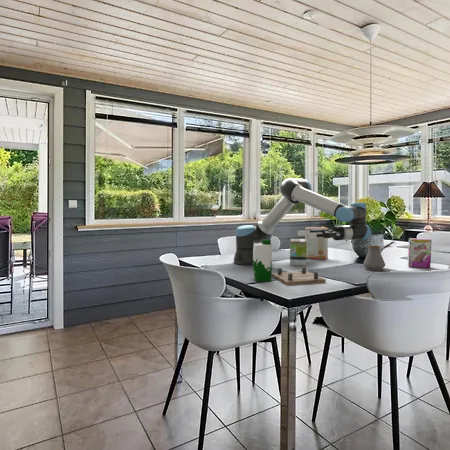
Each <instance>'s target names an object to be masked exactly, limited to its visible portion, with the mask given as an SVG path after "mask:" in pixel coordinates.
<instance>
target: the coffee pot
mask: <svg viewBox="0 0 450 450" xmlns="http://www.w3.org/2000/svg"><path fill="white" fill-rule="evenodd" d="M395 244H397V243H396V241H392V242H390V243H387V244H386V245H385V246H383V247H382V246H379V245H368V249H369V250H368V253H367V254H366V256H365V259H364V261H363V263H362V264H363V266H364V267H365V268H366V270H370V271H381V270H382V269H384V268H385V267H386V263H385V260H384V258H383V255H382V253H381V251H383V250H384V249H386V248H388V247H390V246H391V245H395Z"/></svg>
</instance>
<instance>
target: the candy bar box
mask: <svg viewBox="0 0 450 450" xmlns="http://www.w3.org/2000/svg"><path fill="white" fill-rule="evenodd" d="M407 249H408V251H407V253H408V254H407V267H408V268H421V269H422V268H423V269H431V260H432V259H431V258H432V239H430V238H417V237H415V238H413V237H412V238H411V237H408V247H407Z"/></svg>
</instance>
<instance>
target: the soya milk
mask: <svg viewBox="0 0 450 450" xmlns="http://www.w3.org/2000/svg"><path fill="white" fill-rule="evenodd" d="M272 256H273V245H272V241H271V239H270V240H268V239H265V240H263V243H258V244H254V246H253V264H252V268H253V278H255V279H254V280H255V281H256V282H257V281H262V282H272V273H273V270H272V269H273V257H272Z"/></svg>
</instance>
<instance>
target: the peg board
mask: <svg viewBox="0 0 450 450" xmlns="http://www.w3.org/2000/svg"><path fill="white" fill-rule="evenodd" d="M271 278H274V279H276V280H277V281H279V282H281V283H283V284H284V285H285V286H292V285H306V284H308V285H309V284H319V283H322V284H324V283H326V282H327V281H326V280H327V279H326V278H324V277H322V276H319V272H318V271H313V273H312V272H310V271H308V270H307V266H302V267H301V271H288V272H287V271H286V272H283V269H282V268H281V267H279V268H277V272H272V275H271Z"/></svg>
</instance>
